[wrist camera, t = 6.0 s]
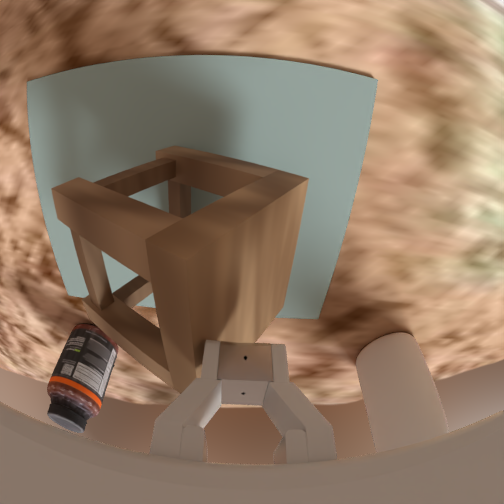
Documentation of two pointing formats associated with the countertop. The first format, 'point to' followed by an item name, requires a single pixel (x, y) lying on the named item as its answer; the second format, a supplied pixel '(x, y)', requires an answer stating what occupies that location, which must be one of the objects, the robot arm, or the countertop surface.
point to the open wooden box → (186, 254)
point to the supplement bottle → (81, 377)
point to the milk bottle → (399, 393)
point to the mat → (207, 144)
